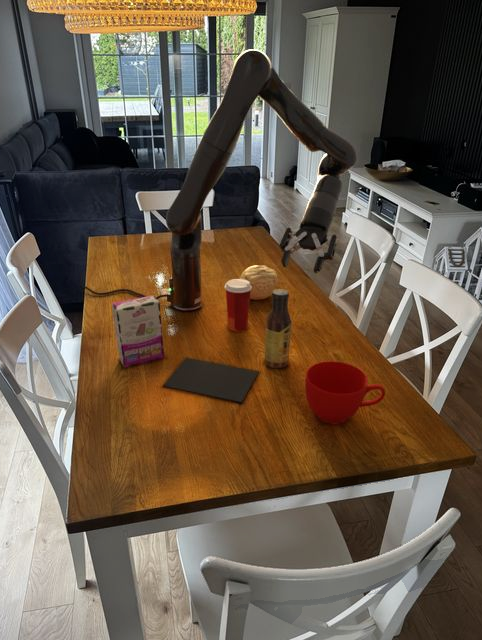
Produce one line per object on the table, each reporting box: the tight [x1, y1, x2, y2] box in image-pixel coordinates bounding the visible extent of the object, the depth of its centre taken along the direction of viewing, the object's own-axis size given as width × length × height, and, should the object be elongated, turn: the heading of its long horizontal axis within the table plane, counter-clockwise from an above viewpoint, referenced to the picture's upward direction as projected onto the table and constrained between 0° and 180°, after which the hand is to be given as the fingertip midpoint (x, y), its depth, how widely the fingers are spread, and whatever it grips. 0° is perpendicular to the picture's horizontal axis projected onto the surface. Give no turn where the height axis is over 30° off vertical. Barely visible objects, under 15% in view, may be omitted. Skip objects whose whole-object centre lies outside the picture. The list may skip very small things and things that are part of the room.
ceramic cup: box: [304, 360, 386, 425], centre depth 106 cm, size 13×17×10 cm
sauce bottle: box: [264, 288, 292, 369], centre depth 123 cm, size 7×6×20 cm
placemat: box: [162, 357, 260, 404], centre depth 120 cm, size 20×14×1 cm
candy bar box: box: [111, 294, 165, 368], centre depth 125 cm, size 11×5×16 cm, turn 117°
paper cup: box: [223, 278, 252, 332], centre depth 142 cm, size 8×8×14 cm
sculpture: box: [239, 264, 278, 301], centre depth 162 cm, size 11×12×11 cm
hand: (299, 268), depth 125 cm, fingers open, 8 cm apart
